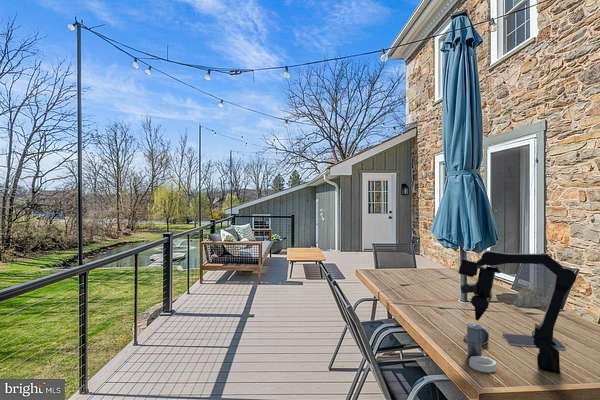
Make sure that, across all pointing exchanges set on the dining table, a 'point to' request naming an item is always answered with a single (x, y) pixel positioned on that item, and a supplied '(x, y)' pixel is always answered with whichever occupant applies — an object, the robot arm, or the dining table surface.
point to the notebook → (527, 341)
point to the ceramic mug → (482, 335)
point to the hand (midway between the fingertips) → (478, 317)
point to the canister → (474, 340)
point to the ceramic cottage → (527, 296)
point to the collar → (482, 364)
